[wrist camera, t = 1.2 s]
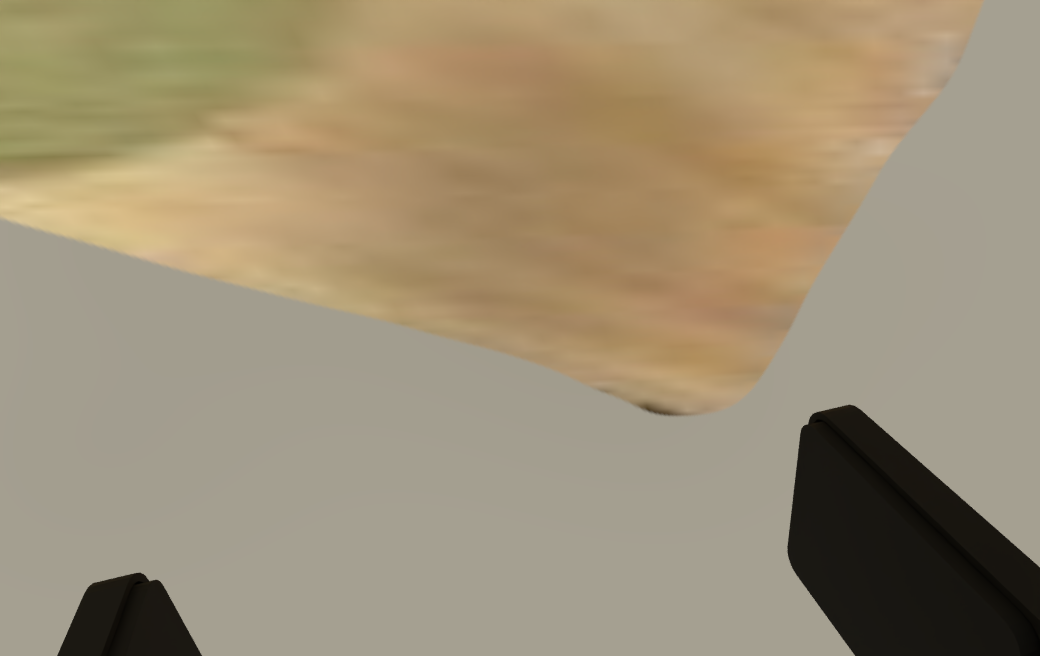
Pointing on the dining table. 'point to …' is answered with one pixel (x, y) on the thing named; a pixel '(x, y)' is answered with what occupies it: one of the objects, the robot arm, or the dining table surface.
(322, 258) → the dining table surface
